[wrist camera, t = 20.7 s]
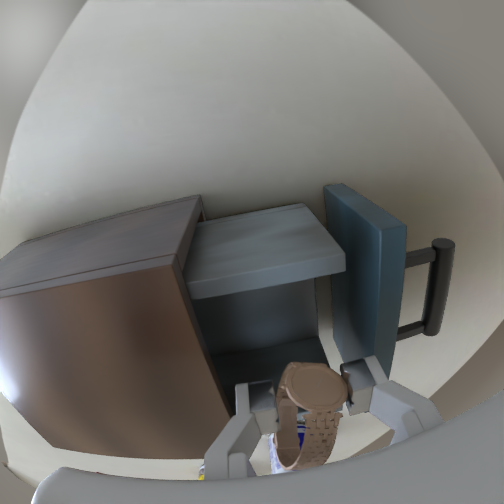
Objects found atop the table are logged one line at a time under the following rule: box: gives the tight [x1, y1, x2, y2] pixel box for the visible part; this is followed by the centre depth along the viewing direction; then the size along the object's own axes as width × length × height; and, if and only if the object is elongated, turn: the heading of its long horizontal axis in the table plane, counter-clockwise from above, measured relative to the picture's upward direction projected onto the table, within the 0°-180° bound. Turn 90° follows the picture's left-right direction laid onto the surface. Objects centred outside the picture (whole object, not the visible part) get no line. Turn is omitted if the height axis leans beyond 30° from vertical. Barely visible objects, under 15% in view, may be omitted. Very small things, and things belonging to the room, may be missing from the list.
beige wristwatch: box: [272, 362, 348, 470], centre depth 11 cm, size 3×5×5 cm, turn 169°
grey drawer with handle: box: [182, 183, 455, 421], centre depth 16 cm, size 18×11×7 cm, turn 100°
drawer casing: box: [0, 195, 234, 459], centre depth 16 cm, size 15×13×9 cm
